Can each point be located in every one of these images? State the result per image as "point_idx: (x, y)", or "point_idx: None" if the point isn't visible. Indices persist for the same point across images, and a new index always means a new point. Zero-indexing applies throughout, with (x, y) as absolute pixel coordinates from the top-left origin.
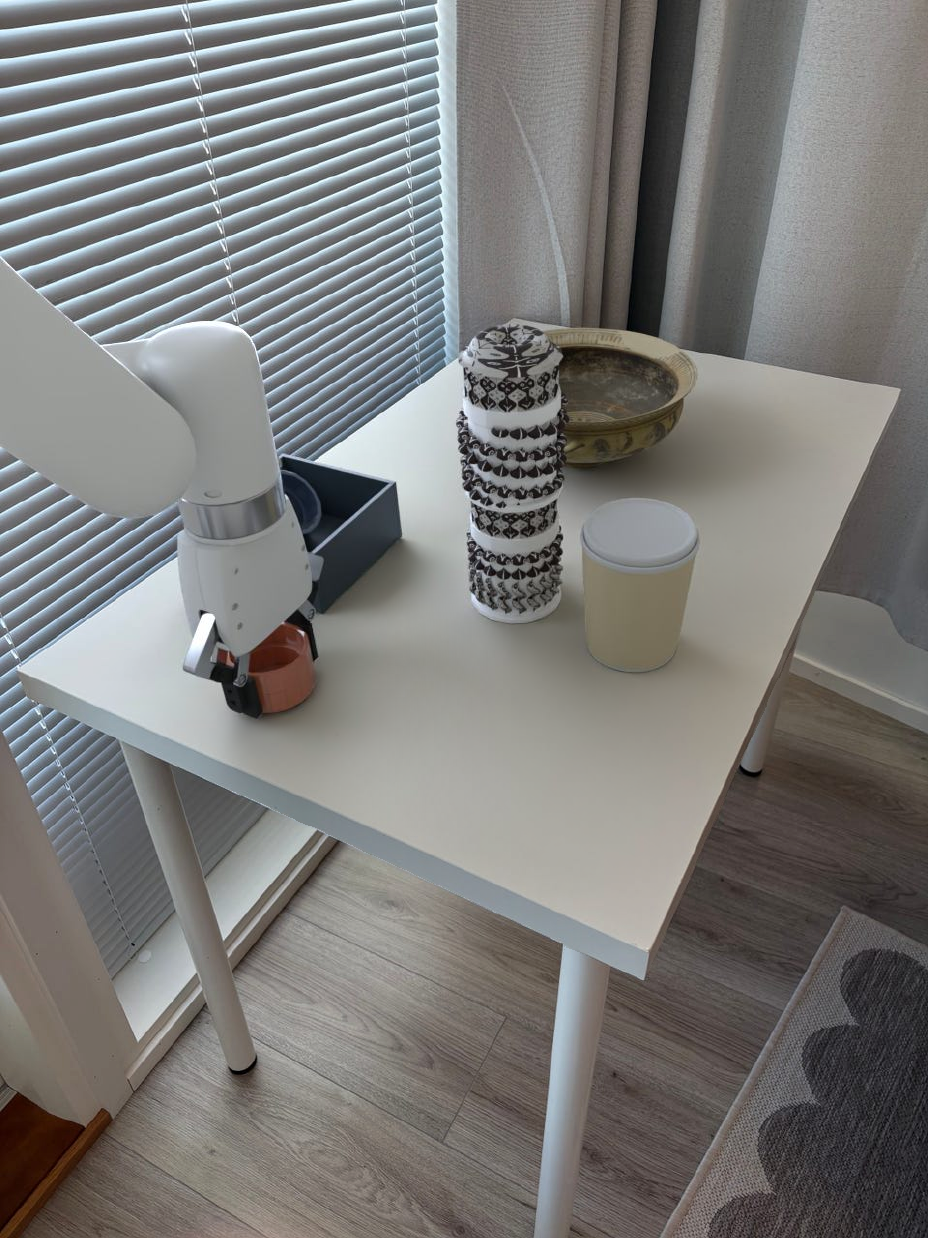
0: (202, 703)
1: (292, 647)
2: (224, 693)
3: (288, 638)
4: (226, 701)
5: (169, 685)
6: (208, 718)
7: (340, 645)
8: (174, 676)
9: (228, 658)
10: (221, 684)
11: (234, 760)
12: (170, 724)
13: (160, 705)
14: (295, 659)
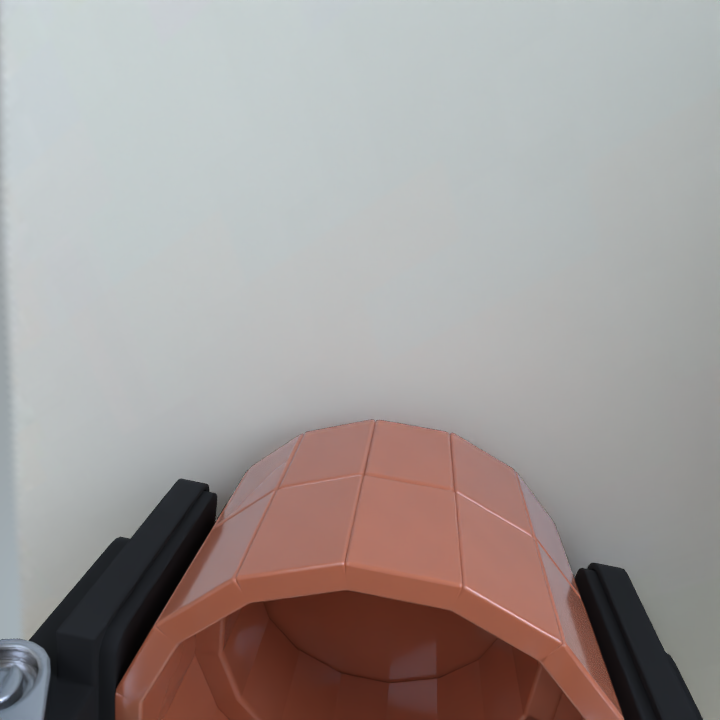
0: (212, 308)
1: (536, 706)
2: (73, 591)
3: (573, 715)
4: (100, 556)
5: (257, 68)
6: (149, 378)
7: (707, 691)
8: (325, 50)
9: (190, 629)
10: (31, 637)
11: (28, 558)
12: (54, 240)
13: (125, 115)
14: (516, 653)
